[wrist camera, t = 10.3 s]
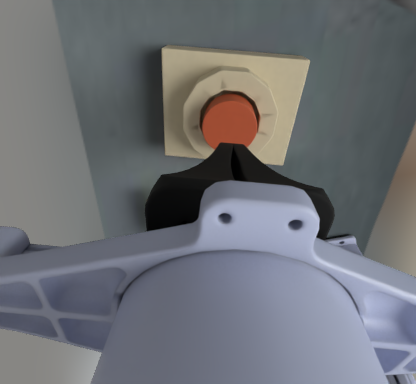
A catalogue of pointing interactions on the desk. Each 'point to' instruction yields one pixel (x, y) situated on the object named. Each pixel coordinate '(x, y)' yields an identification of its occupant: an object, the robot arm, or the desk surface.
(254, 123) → the button
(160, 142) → the desk surface
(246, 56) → the control block
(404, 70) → the desk surface
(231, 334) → the robot arm
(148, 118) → the desk surface
